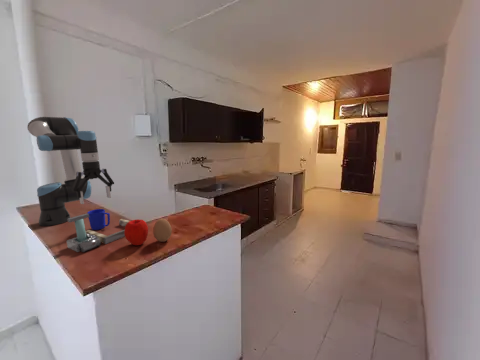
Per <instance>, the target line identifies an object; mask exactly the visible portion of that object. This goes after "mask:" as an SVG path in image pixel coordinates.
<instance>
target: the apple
mask: <svg viewBox="0 0 480 360" xmlns="http://www.w3.org/2000/svg"><path fill="white" fill-rule="evenodd" d="M128 221H129V222H128V223H127V224H126V226H124V230H125V231H124V235H125V239H126V241H127V242H129V243H130V244H131V245H132V246H141V245H143V244H144V243H146V240H147V238H148V234H149V226H148V224H147V222H146V221H145V220H144V219H140V218H139V219H133V220H128Z"/></svg>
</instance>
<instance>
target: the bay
mask: <svg viewBox="0 0 480 360" xmlns="http://www.w3.org/2000/svg"><path fill="white" fill-rule="evenodd" d="M129 221H130V220H128V219H124V218H120V219H119V220H118V223H119V226H122V227H125V226H126V224H127V223H128V222H129ZM85 231H86V234H87V233H88V234H91V235H94V236H96V237H98V238H99V239H100V242H101V244H105V245H106V244H110V243H113V242H115V241H118V240H120V239H122V238H124V237H125V235H124V231H125V229H123V230H119V231H117V232H113V233H111V234H109V235H106V234H103V233H100V232H97V231H95V230H92V229H88V230H85ZM125 238H126V237H125Z"/></svg>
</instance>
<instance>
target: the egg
mask: <svg viewBox="0 0 480 360" xmlns="http://www.w3.org/2000/svg"><path fill="white" fill-rule="evenodd" d="M172 230H173V229H172V226H171V224H170V222H169V220H167V219H166V218H164V217H163V218H159V219H158V220H156V221H155V223H154V224H153V230H152V234H153V237H154V238H155V239H156V241H158V242H161V243H163V242H167V241H169V239H170V238H171V236H172V232H173V231H172Z"/></svg>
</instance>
